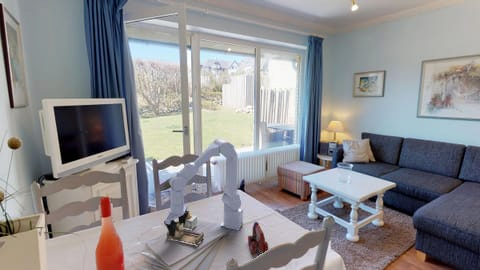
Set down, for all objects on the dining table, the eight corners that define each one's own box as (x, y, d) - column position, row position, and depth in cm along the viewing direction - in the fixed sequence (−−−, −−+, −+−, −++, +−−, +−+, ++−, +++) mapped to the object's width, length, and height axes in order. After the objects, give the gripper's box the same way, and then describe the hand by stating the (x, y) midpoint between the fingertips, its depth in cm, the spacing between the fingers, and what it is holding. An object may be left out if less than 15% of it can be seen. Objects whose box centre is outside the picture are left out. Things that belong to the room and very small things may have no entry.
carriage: (184, 234, 104) (184, 223, 103) (179, 238, 100) (179, 227, 99) (175, 231, 105) (175, 220, 104) (170, 236, 102) (170, 224, 101)
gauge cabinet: (196, 225, 114) (196, 216, 113) (191, 231, 109) (191, 221, 108) (184, 222, 116) (184, 213, 115) (178, 228, 111) (178, 218, 110)
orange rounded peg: (191, 218, 112) (191, 212, 112) (188, 220, 110) (188, 215, 110) (187, 217, 113) (187, 211, 113) (184, 219, 111) (184, 214, 110)
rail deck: (203, 238, 103) (203, 232, 103) (197, 246, 98) (197, 240, 97) (174, 231, 108) (174, 225, 107) (166, 239, 102) (166, 232, 101)
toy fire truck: (261, 238, 106) (262, 217, 104) (269, 256, 94) (270, 233, 92) (246, 239, 104) (247, 218, 103) (252, 258, 92) (254, 234, 91)
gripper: (178, 194, 108) (178, 221, 110) (158, 207, 95) (159, 238, 97) (191, 197, 106) (191, 224, 108) (173, 211, 93) (173, 242, 95)
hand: (177, 231), depth 102 cm, fingers open, 7 cm apart
